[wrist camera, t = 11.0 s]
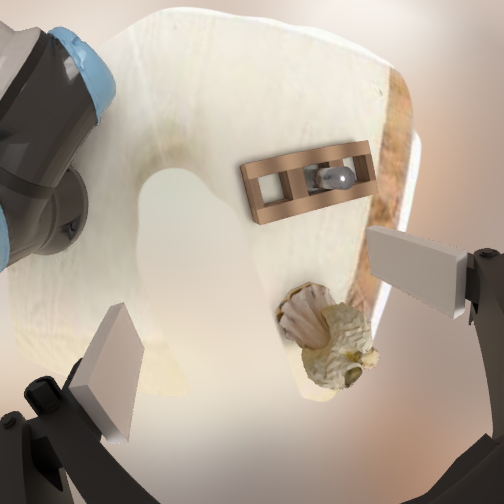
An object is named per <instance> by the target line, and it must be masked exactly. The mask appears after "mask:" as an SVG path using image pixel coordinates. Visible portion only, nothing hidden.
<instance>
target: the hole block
mask: <svg viewBox="0 0 504 504" xmlns="http://www.w3.org/2000/svg"><path fill="white" fill-rule="evenodd" d="M348 157H353V160H354V165H355V170H356V175H357V180H358V181H355V182H354V184H353V186H352V187H351V188H350V189H348V190H338V189H322V190H318V191H314V192H310V193H308V190H307V185H306V181H305V176H304V172H303V168H302V167H304V166H309V165H313V164H318V166H319V168H330V167H344V164H343V160H342V159H343V158H348ZM240 168H241V172H242V176H243V180H244V184H245V188H246V192H247V195H248V199H249V203H250V207H251V211H252V215H253V219H254V222H255V223H257V224H259V225H263V224H267V223H270V222H274V221H277V220H281V219H284V218H288V217H291V216H295V215H299V214H302V213H306V212H309V211H313V210H317V209H320V208H324V207H328V206H331V205H335V204H339V203H343V202H346V201H350V200H354V199H358V198H361V197H365V196H369V195H373V194H377V193H378V188H377V182H376V176H375V171H374V166H373V161H372V156H371V151H370V147H369V142H368V140H366V141H359V142H353V143H347V144H340V145H335V146H329V147H323V148H318V149H313V150H307V151H302V152H297V153H292V154H288V155H283V156H278V157H274V158H269V159H265V160H260V161H256V162H252V163H248V164H244V165H241V166H240ZM278 172H279V175H280V180H281V184H282V188H283V192H284V196H285V199H282V200H279V201H275V202H271V203H267V204H264V203H263V199H262V195H261V190H260V186H259V182H258V178H257V177H261V176H265V175H269V174H273V173H278Z"/></svg>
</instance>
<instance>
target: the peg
mask: <svg viewBox="0 0 504 504" xmlns="http://www.w3.org/2000/svg"><path fill="white" fill-rule="evenodd" d="M303 172H304V176H305V181H306V185H307V188H322V189H338V190H348V189H350V188H351V187H352V186H353V184H354V181H355V177H354V173H353V171H352V170H351V169H350V168H348V167H330V168H318V169H308V170H304V171H303Z"/></svg>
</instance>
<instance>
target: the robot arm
mask: <svg viewBox="0 0 504 504" xmlns="http://www.w3.org/2000/svg"><path fill="white" fill-rule="evenodd" d="M115 93H116V84H115V80H114V78H113V75H112V74H111V72H110V70H109V69H108V67H107V66H106V64H105V63H104V62H103V60H102V59H101V58H100V57H99V56H98V54H97V53H96V52H95V51H94V50H93V49H92V48H91V47H90V46H89V45H88V44H87V43H86V42H83V41H81V39H80V38H79V37H78V36H77V35H76V34H75V33H73V32H72V31H70V30H68V29H66V28H64V27H55V28H54V29H53V30H50V31H48V33H47V34H46V33H45V32H44V31H42V30H41V29H40V28H38V27H35V28H30V29H26V30H23V31H14V30H12V29H11V28H10V27H9V26H7V25H6V24H4V23H3V22H2V21H0V273H1V272H2V271H3V270H4V269H5V268H6V267H8V266H10V265H12V264H14V263H15V262H17V261H19V260H21V259H23V258H25V257H26V256H28V255H30V254H32V253H34V254H39V255H51V254H55V253H58V252H60V251H62V250H64V249H66V248H67V247H69V246H70V245H71V244H73V243H74V242H75V241H76V239H77V238H78V237H79V235H80V234H81V232H82V230H83V228H84V226H85V223H86V219H87V214H88V196H87V191H86V187H85V184H84V182H83V180H82V178H81V176H80V175H79V173H78V172H77V171H76V170H75V169H74V168H73V167H72V166H71V165H70V163H71V161H72V160H73V158H74V156H75V155H76V153H77V152H78V150H79V148H80V147H81V145H82V144H83V142H84V141H85V139H86V138H87V136H88V135H89V133H90V132H91V130H92V129H93V128H94V126H97V125H98V124H99V122H100V119H101V116H102V115H103V113H104V112H105V110H106V109H107V108H108V106H109V105H110V103H111V102H112V100H113V99H114V96H115ZM365 231H366V238H367V246H368V254H369V262H370V272H371V275H373V276H375V277H377V278H379V279H381V280H383V281H384V282H386V283H388V284H390V285H392V286H394V287H396V288H398V289H400V290H401V291H403V292H405V293H407V294H409V295H410V296H412V297H415V298H416V299H418V300H420V301H422V302H423V303H425V304H427V305H429V306H431V307H432V308H434V309H436V310H438V311H440V312H441V313H443V314H445V315H447V316H448V317H450V318H452V319H455V318H456V317H458V316H459V315H460V314H462V313H463V312H464V308H465V299H467V300H469V301H471V308H470V317H469V325H471V322H472V321H473V320H474V325H475V328H476V331H477V335H478V339H479V343H480V348H481V352H482V357H483V361H484V366H485V371H486V377H487V382H488V388H489V396H490V403H491V411H492V421H493V435H492V438H491V437H490V436H488V435H487V434H484V435H483V436H482V437H481V438H480V439H479V440H478V441H477V442H476V443H475V444H473V446H471V447H470V448H469V449H468V450H467V451H465V452H464V453H463V454H462V455H461V456H460V457H458V458H457V459H456V460H455V461H454V463H453V464H452V465H451V467H449V469H448V470H447V471H446V472H445V473H444V475H443V476H442V477H441V478H440V479H439V480H438V482H436V484H435V485H434V486H433V487H432V488H431V489H430V490H429V491H428V492H427V493H425V494H424V495H422V496H420V497H417V498H414V499H412V500H409V501H406V502H403V503H401V504H504V254H500V253H499V252H498V251H497V250H494V249H490V248H484V249H479V250H477V251H475V252H474V254H470V253H467V251H466V250H463V249H460V248H457V247H453V246H450V245H446V244H443V243H440V242H436V241H433V240H430V239H426V238H423V237H419V236H415V235H412V234H408V233H405V232H401V231H398V230H394V229H390V228H386V227H382V226H379V225H374V226H371V227H368V228H365ZM143 353H144V347H143V345H142V342H141V340H140V338H139V336H138V334H137V332H136V329H135V327H134V325H133V323H132V320H131V318H130V316H129V314H128V311H127V309H126V306H125V304H124V302H123V303H120V304H116V305H113V306H110V308H109V310H108V312H107V313H106V315H105V317H104V319H103V321H102V322H101V324H100V326H99V328H98V330H97V332H96V334H95V335H94V337H93V339H92V341H91V343H90V345H89V347H88V349H87V351H86V353H85V355H84V357H83V358H80V359H79V360H78V362H77V363H76V364H75V365H74V366H73V368H72V370H71V372H70V374H69V376H68V378H67V380H66V382H65V384H64V386H63V388H62V390H61V389H60V388H59V386H58V385H57V383H56V381H55V380H54V378H52V377H51V376H44V377H40V378H38V379H36V380H34V381H33V382H32V383H30V384H29V386H28V387H27V388H26V389H25V391H24V397H25V399H26V400H27V402H28V403H29V404H30V406H31V407H32V409H33V410H34V411H35V413H36V414H37V415H38V417H36V418H33V419H30V420H27V421H26V419H25V418H24V417H23V415H22V414H21V413H20V412H18V411H13V412H10V413H8V414H5V415H4V417H2V418H1V420H0V504H74V502H73V498H72V494H71V491H70V488H69V484H68V480H67V476H66V472H67V474H68V475H69V477H70V479H71V480H72V482H73V484H74V485H75V487H76V488H77V490H78V491H79V493H80V494H81V496H82V497H83V499H84V500H85V502H86V503H87V504H160V503H159V502H158V501H157V500H156V499H155V498H154V497H153V496H151V495H150V494H149V493H148V492H147V491H146V490H145V489H144V488H143V487H142V486H141V485H140V484H139V483H137V481H135V480H134V479H133V478H132V477H131V476H130V475H129V473H128V472H126V470H124V468H122V466H121V465H120V464H119V463H118V462H117V461H116V460H115V459H114V458H113V456H112V455H111V454H110V453H109V452H108V451H107V450H106V449H105V447H104V446H103V445H102V444H101V443H100V440H101V435H103V436H104V437H105V438H106V440H107V441H108V442H109V443H110V444H118V443H127V442H129V435H130V427H131V420H132V413H133V408H134V401H135V395H136V390H137V384H138V378H139V373H140V368H141V363H142V358H143ZM65 470H66V472H65Z"/></svg>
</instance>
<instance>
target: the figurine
mask: <svg viewBox="0 0 504 504" xmlns="http://www.w3.org/2000/svg"><path fill="white" fill-rule="evenodd" d="M311 286H312V288H311ZM309 287H310V288H309ZM313 290H314V291H313ZM311 291H312V292H313V295H312V294H311V293H312V292H311ZM314 292H315V293H314ZM322 292H323V293H324V292H325V293H324V294H323V293H322ZM314 294H315V295H314ZM322 294H323V295H322ZM313 296H314V297H315V298H314V299H313ZM323 296H324V297H323ZM275 313H276V315H277V317H278V318H279V320H280V322H279V324H280V326H282V327H284V329H285V330H286V338H287V339H289V340H292V341H295V342H296V343H297V344H298V345H299V347H301V348H302V349H303V350H302V354H301V355H302V361H303V364H304V368H305V369H306V372H307V375H308V378H310V379H311V380H313V381H314V382H315V384H317V385H319V386H320V387H325V388H330V389H333V390H335V389H337V388H339V389H342V388H348V387H350V386H352V385H353V384H354V383H355V381H356V380H357V379H358V378H359V377H360V375H361V374H362V371H363V370H365V369H366V370H370V369H372V368H374V367H375V365H376V363H377V361H378V359H379V352H378V351H377V350H376V349H375V348H374V347H372V345H373V340H372V334H371V322H369V321H367V318H366V317H367V316H366V313H365V312H361V311H360V310H359V309H357V308H354V307H353V306H348V305H346V304H345V303H344V302H341V303H340V304H339V305H337V304H336V303H335V301H334V300H333V299H332V297H331V295H330V294H329V289H328V288H327V287H323V286H320V285H317V284H314V283H310V282H309V283H307V284H305V285H302V286H300V287H298V288H295V289H293V290H291V291H290V292H289V293H288V295H287V296H286V298H285V299H284V300H283V302H282V303H281V305H280V306H279V307H278V309H277V310H276V312H275ZM334 388H335V389H334Z"/></svg>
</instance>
